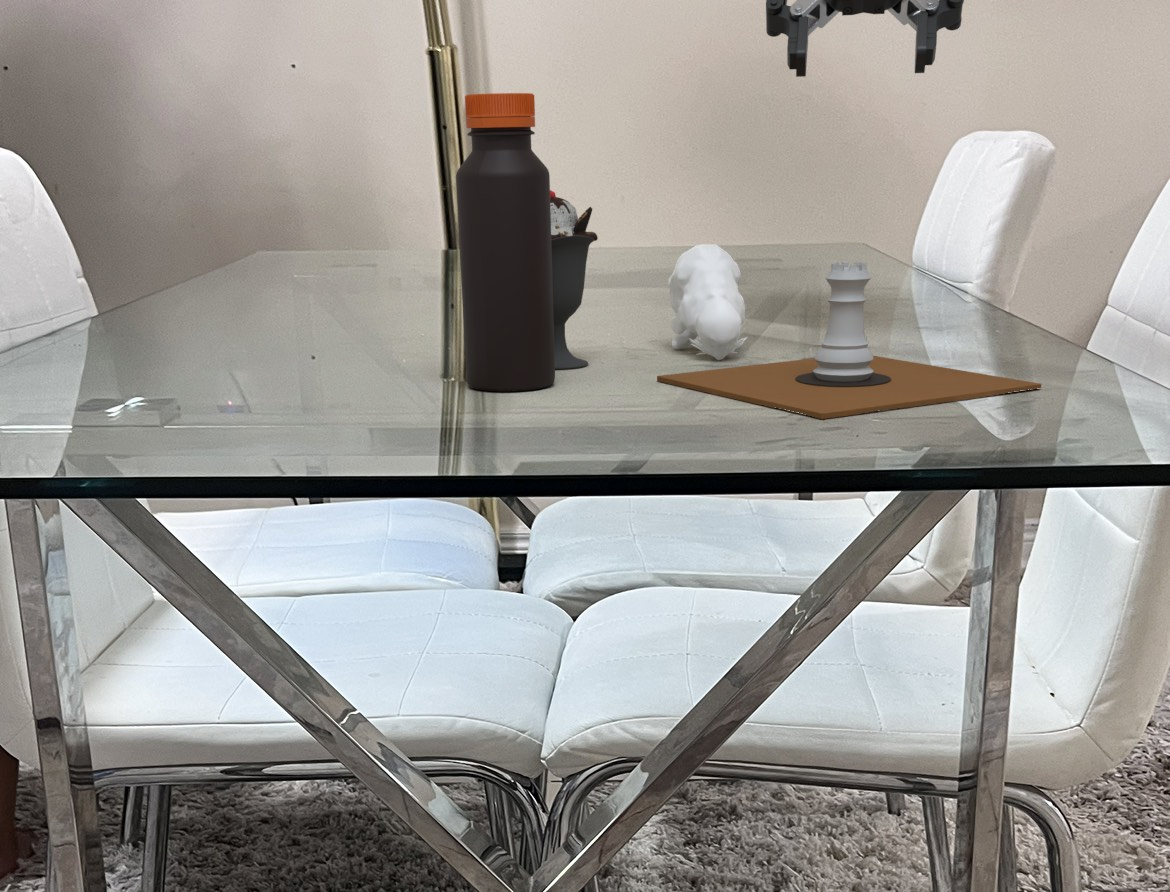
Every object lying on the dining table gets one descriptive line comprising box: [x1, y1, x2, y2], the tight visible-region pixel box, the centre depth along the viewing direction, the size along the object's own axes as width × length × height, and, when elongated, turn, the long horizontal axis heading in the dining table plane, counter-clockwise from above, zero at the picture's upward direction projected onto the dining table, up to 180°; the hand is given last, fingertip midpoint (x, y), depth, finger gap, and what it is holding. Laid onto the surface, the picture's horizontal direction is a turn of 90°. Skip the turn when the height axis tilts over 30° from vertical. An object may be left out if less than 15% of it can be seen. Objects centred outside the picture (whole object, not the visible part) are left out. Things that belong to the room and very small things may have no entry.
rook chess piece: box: [813, 261, 874, 382], centre depth 102 cm, size 4×4×8 cm
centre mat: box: [656, 355, 1042, 420], centre depth 104 cm, size 20×20×1 cm
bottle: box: [455, 92, 556, 393], centre depth 103 cm, size 7×7×20 cm
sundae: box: [550, 189, 599, 371], centre depth 113 cm, size 7×7×15 cm
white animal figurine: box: [667, 243, 748, 361], centre depth 119 cm, size 6×8×12 cm
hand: (860, 65), depth 101 cm, fingers open, 8 cm apart
